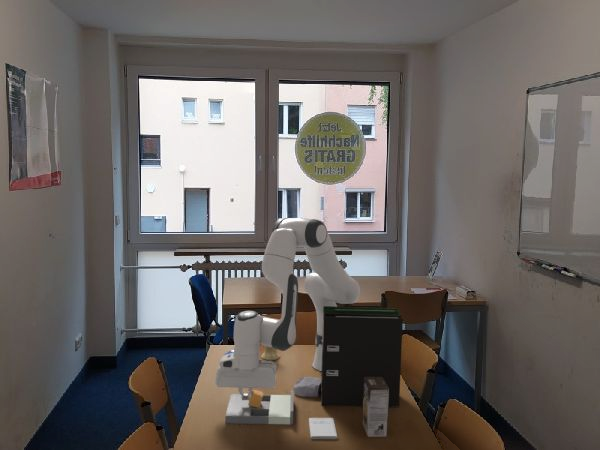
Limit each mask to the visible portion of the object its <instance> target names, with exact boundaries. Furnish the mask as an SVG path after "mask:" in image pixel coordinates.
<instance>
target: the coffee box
mask: <svg viewBox="0 0 600 450" xmlns="http://www.w3.org/2000/svg"><path fill="white" fill-rule="evenodd" d="M388 400H389V387H388V386H387V384H386V382H385V381H384V379H383V377H364V389H363V407H362V426H363V429H364V431H365V434H366V435H367V437H368V438H369V437H370V438H373V437H374V438H377V437H378V438H379V437H380V438H381V437H387V435H388V434H387V433H388V420H389V419H388V418H389V417H388V416H389V415H388V413H389V407H388Z"/></svg>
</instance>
